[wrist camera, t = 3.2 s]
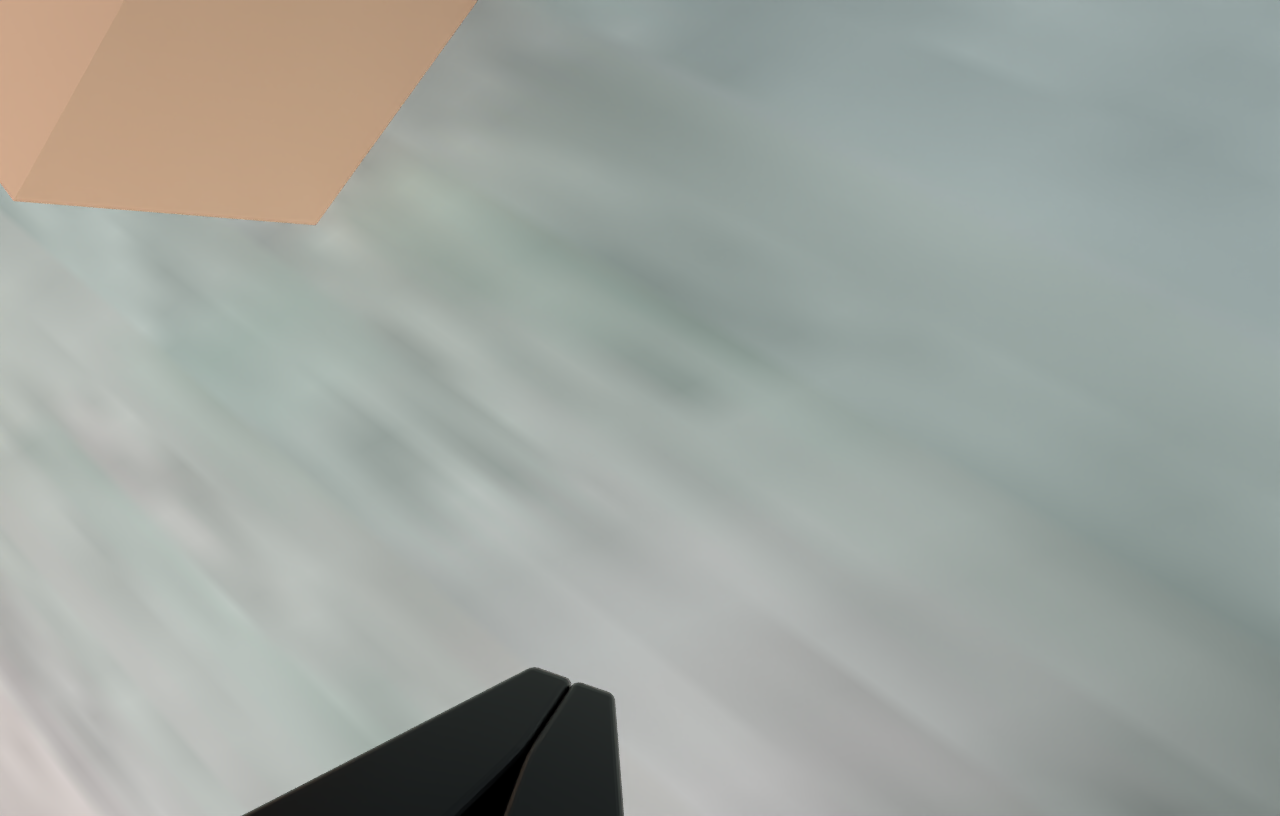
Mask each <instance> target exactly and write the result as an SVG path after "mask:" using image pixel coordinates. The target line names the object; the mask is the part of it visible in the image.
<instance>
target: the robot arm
mask: <svg viewBox="0 0 1280 816" xmlns="http://www.w3.org/2000/svg"><path fill="white" fill-rule="evenodd" d="M242 816H624V810H623V798H622V785H621V772H620V759H619V746H618V733H617V720H616V707H615V699H614V696H613V695H612V694H611V693H609V692H607V691H604V690H601V689H598V688H595V687H592V686H589V685H586V684H584V683H579V682H578V683H575V684H573V685H572V686H571V682H570V680H569V679H568V678H566V677H563V676H560V675H557V674H555V673H552V672H549V671H546V670H543V669H540V668H536V667H533V668H529V669H527V670H525V671H523V672H521V673H519V674H517V675H515V676H513V677H511V678H509V679H507V680H505V681H503V682H501V683H499V684H497V685H495V686H493V687H492V688H490V689H488V690H486V691H484V692H482V693H480V694H478V695H476V696H474V697H472V698H470V699H468V700H466V701H464V702H462V703H460V704H458V705H456V706H455V707H453V708H451V709H449V710H447V711H445V712H443V713H441V714H439V715H437V716H435V717H433V718H431V719H429V720H427V721H425V722H423V723H421V724H419V725H418V726H416V727H414V728H412V729H410V730H408V731H406V732H404V733H402V734H400V735H398V736H396V737H394V738H392V739H390V740H388V741H386V742H384V743H383V744H381V745H379V746H377V747H375V748H373V749H371V750H369V751H367V752H365V753H363V754H361V755H359V756H357V757H355V758H353V759H351V760H349V761H347V762H346V763H344V764H342V765H340V766H338V767H336V768H334V769H332V770H330V771H328V772H326V773H324V774H322V775H320V776H318V777H316V778H314V779H312V780H310V781H309V782H307V783H305V784H303V785H301V786H299V787H297V788H295V789H293V790H291V791H289V792H287V793H285V794H283V795H281V796H279V797H277V798H275V799H274V800H272V801H270V802H268V803H266V804H264V805H262V806H260V807H258V808H256V809H254V810H252V811H250V812H248V813H246V814H244V815H242Z"/></svg>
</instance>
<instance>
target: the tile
mask: <svg viewBox="0 0 1280 816" xmlns="http://www.w3.org/2000/svg"><path fill="white" fill-rule="evenodd" d="M477 1H478V0H0V183H1V184H2V186H3V187H4V188H5V190H6V191H7V193H8V194H9V195H10V197H11V198H12V199H13V201H20V202H33V203H45V204H58V205H70V206H83V207H95V208H108V209H120V210H132V211H145V212H157V213H170V214H182V215H195V216H207V217H220V218H232V219H245V220H257V221H270V222H282V223H295V224H307V225H316V224H317V223H318V221H319V220H320V219H321V217H322V216H323V214H324V213H325V212H326V210H327V209H328V208H329V206H330V205H331V203H332V202H333V201H334V199H335V198H336V196H337V195H338V194H339V192H340V191H341V189H342V188H343V187H344V185H345V184H346V183H347V181H348V180H349V178H350V177H351V176H352V174H353V173H354V171H355V170H356V169H357V167H358V166H359V165H360V163H361V162H362V160H363V159H364V158H365V156H366V155H367V153H368V152H369V151H370V149H371V148H372V147H373V145H374V144H375V142H376V141H377V140H378V138H379V137H380V135H381V134H382V133H383V131H384V130H385V129H386V127H387V126H388V124H389V123H390V122H391V120H392V119H393V117H394V116H395V115H396V113H397V112H398V110H399V109H400V108H401V106H402V105H403V104H404V102H405V101H406V99H407V98H408V97H409V95H410V94H411V92H412V91H413V90H414V88H415V87H416V86H417V84H418V83H419V81H420V80H421V79H422V77H423V76H424V74H425V73H426V72H427V70H428V69H429V68H430V66H431V65H432V63H433V62H434V61H435V59H436V58H437V56H438V55H439V54H440V52H441V51H442V49H443V48H444V47H445V45H446V44H447V43H448V41H449V40H450V38H451V37H452V36H453V34H454V33H455V31H456V30H457V29H458V27H459V26H460V25H461V23H462V22H463V20H464V19H465V18H466V16H467V15H468V13H469V12H470V11H471V9H472V8H473V7H474V5H475V4H476V2H477Z"/></svg>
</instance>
